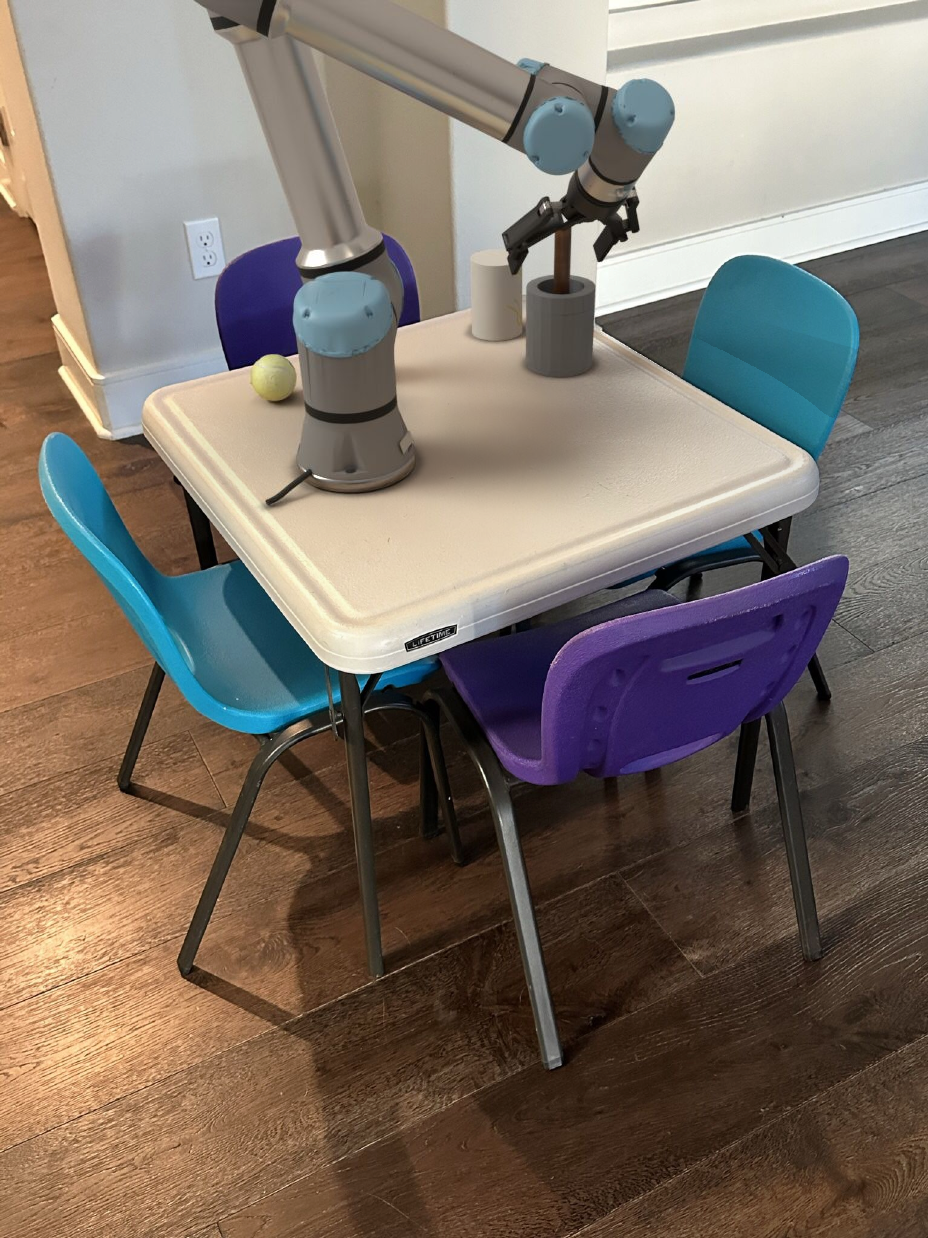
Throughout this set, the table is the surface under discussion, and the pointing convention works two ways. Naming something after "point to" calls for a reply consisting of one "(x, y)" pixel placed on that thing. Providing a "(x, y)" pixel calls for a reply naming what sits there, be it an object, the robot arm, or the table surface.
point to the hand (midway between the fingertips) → (554, 259)
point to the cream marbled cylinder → (495, 296)
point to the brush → (562, 261)
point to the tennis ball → (273, 377)
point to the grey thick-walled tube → (559, 327)
